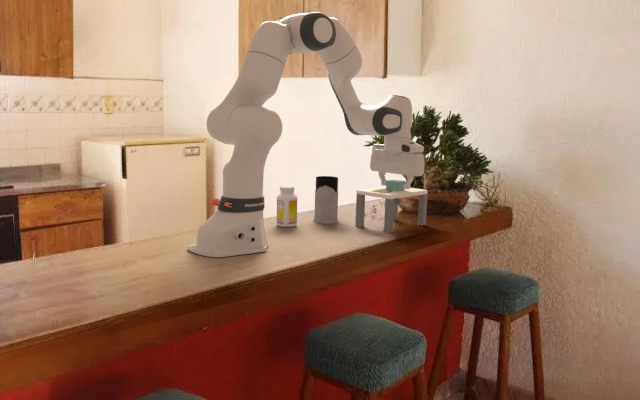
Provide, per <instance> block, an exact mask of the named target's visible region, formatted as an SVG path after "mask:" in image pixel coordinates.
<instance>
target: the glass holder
mask: <svg viewBox="0 0 640 400" xmlns="http://www.w3.org/2000/svg"><path fill="white" fill-rule="evenodd" d="M338 188H339V177H337V176H333V175H331V176H329V175H328V176H325V175H324V176H323V175H321V176H316V177H315V190H314V217H313V220H312V222H314V223H317V224H326V225H327V224H337V223H339V219H338V212H339V211H338V210H339V209H338V208H339V207H338V206H339V205H338V204H339V191H338V190H339V189H338Z"/></svg>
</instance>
